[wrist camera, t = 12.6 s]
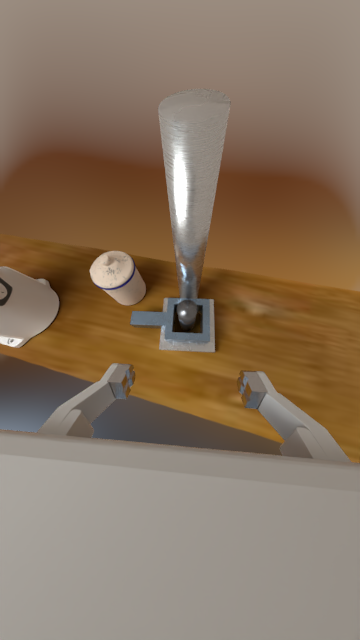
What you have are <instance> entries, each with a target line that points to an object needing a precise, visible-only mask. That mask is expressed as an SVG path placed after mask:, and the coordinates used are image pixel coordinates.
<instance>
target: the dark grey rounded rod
mask: <svg viewBox="0 0 360 640" xmlns="http://www.w3.org/2000/svg"><path fill="white" fill-rule="evenodd" d="M177 313H178V318H179V322H180V327H181V329H182V330H184V331H187V332H188V331H191V330H192V329H193V328H194V325H195V320H196V315H197V305H196V303H195V302H193V301H192V300H183V301H181V302H180V303H179V304H178V306H177Z"/></svg>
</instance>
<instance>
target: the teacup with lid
mask: <svg viewBox="0 0 360 640" xmlns="http://www.w3.org/2000/svg"><path fill="white" fill-rule="evenodd" d="M90 274H91V278H92V280H93V282H94V284H95V285H96V286H98V287H99V288H101V289H103V290H104V291H105V292H107V293H108V294H109V295H110V296H112V297H113V298H114V299H115V300H116V301H118V302H119V303H120V304H123V305H133V304H136V303H138V302H139V301H140V300H142V298H143V297H144V295H145V293H146V285H145V283H144V281H143V279H142V277H141V276H140V274H139V272H138V270H137V268H136V267H135V263H134V261H133V259H132V258H131V257H130V256H129V255H128V254H126V253H124V252H121V251H110V252H106V253H104V254H102V255H101V256H99V257H98V258H97V259H96V260H95V261H94V263H93V264H92V267H91V269H90Z"/></svg>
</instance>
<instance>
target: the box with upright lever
mask: <svg viewBox="0 0 360 640" xmlns="http://www.w3.org/2000/svg"><path fill="white" fill-rule="evenodd" d="M229 109H230V99H229V98H228V97H227V95H225V94H223V93H221V92H219V91H215V90H210V89H191V90H185V91H181V92H178V93H175V94H172V95H170V96H168V97H167V98H165V99H164V100H163V101H162V102H161V103H160V105H159V107H158V112H159V120H160V130H161V138H162V146H163V155H164V164H165V173H166V181H167V189H168V198H169V207H170V216H171V224H172V232H173V242H174V249H175V258H176V267H177V276H178V285H179V293H180V298H164V306H163V312H143V311H132V317H131V322H130V325H132V326H134V327H140V328H161V336H160V346H159V349H160V350H174V351H193V352H212V353H214V352H215V331H214V299H197V298H198V292H199V287H200V281H201V275H202V269H203V263H204V257H205V251H206V245H207V239H208V233H209V227H210V222H211V216H212V209H213V204H214V198H215V192H216V185H217V180H218V174H219V168H220V162H221V157H222V151H223V144H224V139H225V133H226V127H227V121H228V115H229ZM183 300H192V301H193V302H195V303H196V305H197V313H200V333H179V332H175V321H176V313H177V306H178V304H179V303H180V302H181V301H183Z"/></svg>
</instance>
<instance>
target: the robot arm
mask: <svg viewBox="0 0 360 640" xmlns="http://www.w3.org/2000/svg"><path fill="white" fill-rule="evenodd" d="M58 308H59V298H58V296H57V294H56V293H55V291H53V290H52V289H51V288H50V284H49V282H48V281H47V280H45V279H36V280H35V279H33V278H31V277H29V276H26V275H24V274H22V273H20V272H18V271H15V270H13V269H11V268H9V267H5V266H4V267H0V343H2V344H5V345H8V346H12V347H17V348H18V347H21V346H23V345H24V344H25V343H26V342H27V341H28V340H29V339H30V338H31V337H33V336H35V335H37V334H39V333H40V332H42V331H43V330H45V329H46V328H47V327H48V326H49V325H50V324H51V322H52V321H53V320H54V318H55V316H56V314H57V312H58ZM133 369H134V367H133V365H130V364H117V363H113V364H112V365H111V366H110V367H109V369H108V370H107V371H106V373H105V374H104V376H103V377H102V379H101V380H100V381H99V382H96V383H94V384H93V385H91V386H90V387H88V388H87V389H85V390H84V391H82V392H81V393H79V394H78V395H76V396H75V397H73V398H72V399H70V400H69V401H67V402H66V403H64V404H62V405H61V406H60V407H58V408H57V409H56V410H55V412H54V413H53V414H52V415H51V416H50V417H49V419H48V420H47V421H46V422H45V424H44V425H43V426H42V427H41V428H40V429H39V430H38V432H37V433H34V432H22V431H12V430H1V429H0V640H360V463H354V462H351V461H350V460H349V458H348V457H347V456H346V454H345V453H344V452H343V450H342V449H341V448H340V447H339V445H338V444H337V443H336V441H335V440H334V439H333V437H332V436H331V435H330V434H329V432H328V431H327V430H326V429H325V428H324V427H323V426H322V425H320V424H319V423H318V422H316V421H315V420H314V419H312V418H311V417H310V416H309V415H307V414H306V413H305V412H303V411H302V410H301V409H299V408H298V407H297V406H295V405H294V404H293V403H292V402H290V401H289V400H288V399H286V398H285V397H284V396H282V395H281V394H280V393H277V392H276V390H275V389H274V387H273V385H272V384H271V382H270V381H269V379H268V377H267V376H266V374H265V373H264V372H262V371H243V370H241V371H240V377H239V378H238V380H237V386H238V390H239V392H240V393H241V394H242V397H241V398H242V401H243V404H244V407H245V408H253V409H258V411H259V412H260V413H261V414H262V415H263V416H264V417H265V418H266V420H267V421H268V422H269V423H270V424H271V425H272V426H273V428H274V429H275V430H276V431H277V432H278V433H279V434H280V435H281V437H282V438H283V439H284V440H285V442H284V443H283V444H282V445H281V447H280V450H281V453H282V455H283V456H279V455H269V454H258V453H247V452H235V451H225V450H214V449H204V448H194V447H182V446H173V445H162V444H151V443H140V442H130V441H118V440H109V439H98V438H91V437H92V435H93V433H94V429H93V428H92V426H91V425H90V423H91V422H92V421H94V420H95V419H96V418H97V416H99V415H100V414H101V413H102V412H103V411H104V410H105V409H106V408H107V407H108V406H109V405H110V404H111V403H112V402H113V401H114V400H115V399H127V397H128V395H129V393H130V391H131V390H130V387H131V386H132V385H133V384H134V381H135V372H134V371H133Z"/></svg>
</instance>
